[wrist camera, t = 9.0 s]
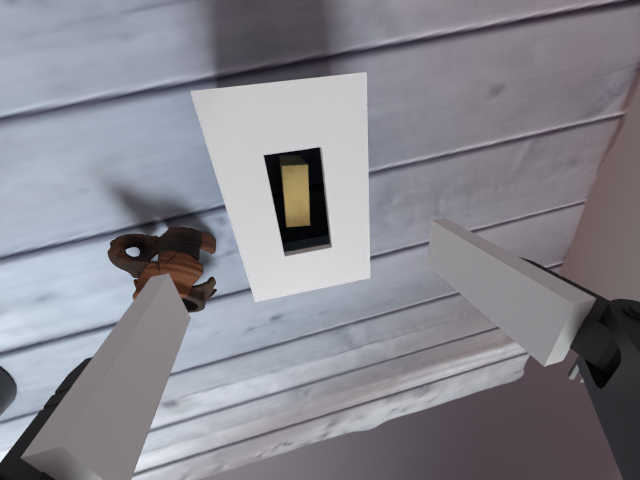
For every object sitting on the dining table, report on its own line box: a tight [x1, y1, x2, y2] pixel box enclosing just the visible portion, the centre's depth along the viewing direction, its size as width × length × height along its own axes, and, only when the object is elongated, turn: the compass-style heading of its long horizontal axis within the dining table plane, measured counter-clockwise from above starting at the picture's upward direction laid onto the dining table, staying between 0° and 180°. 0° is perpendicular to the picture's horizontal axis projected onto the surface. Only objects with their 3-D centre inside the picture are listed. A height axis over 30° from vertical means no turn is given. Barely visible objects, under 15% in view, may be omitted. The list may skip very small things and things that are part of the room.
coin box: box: [190, 72, 370, 302], centre depth 25 cm, size 12×18×10 cm, turn 6°
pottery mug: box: [108, 227, 217, 312], centre depth 29 cm, size 12×10×8 cm
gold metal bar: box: [279, 155, 310, 227], centre depth 26 cm, size 2×6×7 cm, turn 1°
